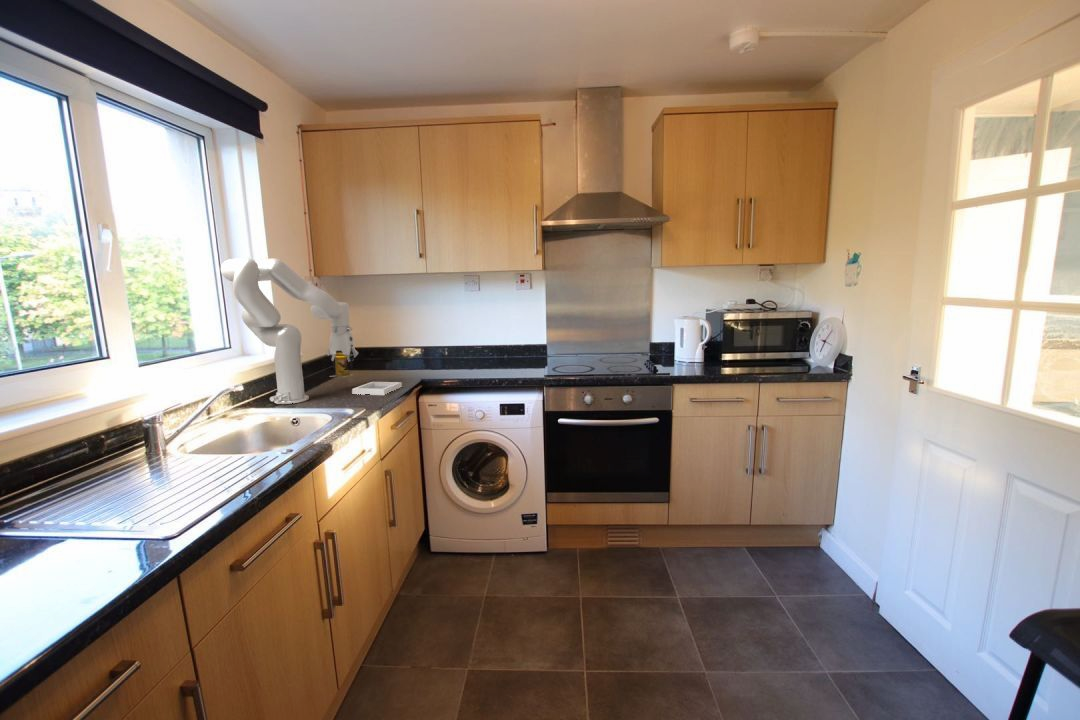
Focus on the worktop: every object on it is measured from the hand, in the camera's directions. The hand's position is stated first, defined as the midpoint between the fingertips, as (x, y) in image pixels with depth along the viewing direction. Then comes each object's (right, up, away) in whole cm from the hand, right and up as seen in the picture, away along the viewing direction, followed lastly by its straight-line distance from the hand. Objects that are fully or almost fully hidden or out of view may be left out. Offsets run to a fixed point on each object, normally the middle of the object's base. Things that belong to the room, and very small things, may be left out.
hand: (342, 369), depth 209 cm
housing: (+17, -10, -3) cm, 20 cm away
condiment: (-1, -3, +1) cm, 4 cm away
